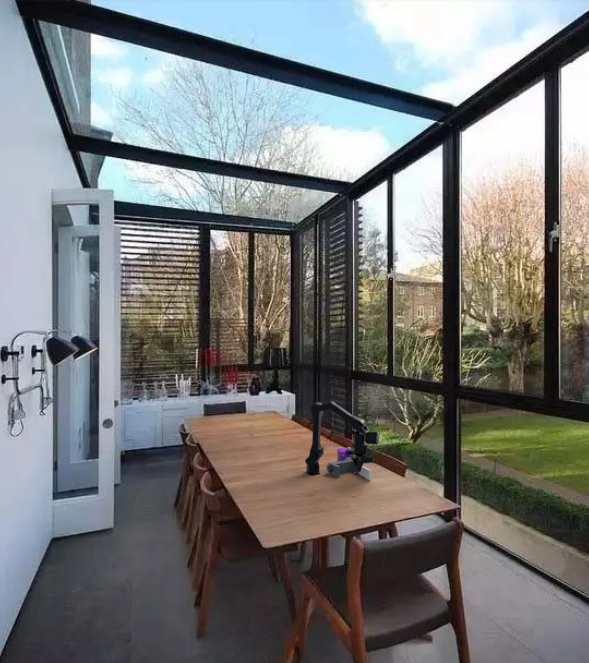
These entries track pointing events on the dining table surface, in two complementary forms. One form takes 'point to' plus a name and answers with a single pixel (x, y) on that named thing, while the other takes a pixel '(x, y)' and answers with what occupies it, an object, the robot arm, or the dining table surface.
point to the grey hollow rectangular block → (341, 467)
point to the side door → (365, 473)
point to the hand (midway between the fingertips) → (359, 471)
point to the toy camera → (343, 454)
